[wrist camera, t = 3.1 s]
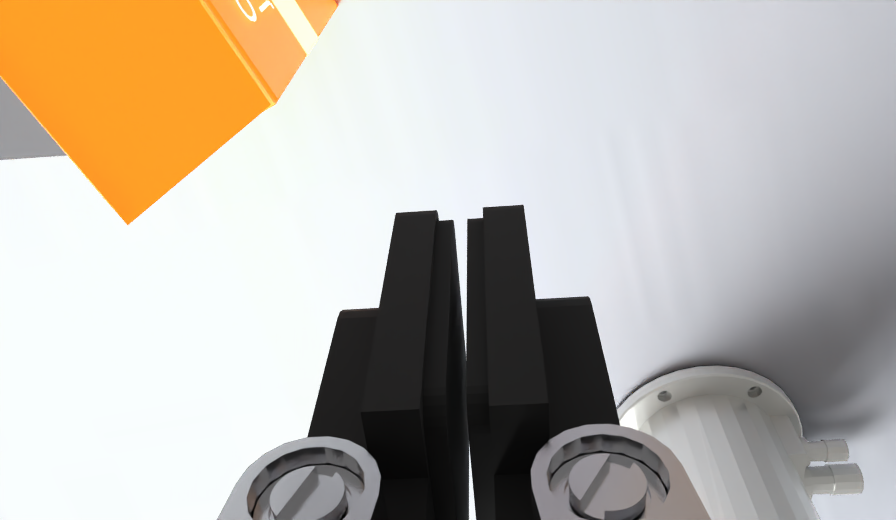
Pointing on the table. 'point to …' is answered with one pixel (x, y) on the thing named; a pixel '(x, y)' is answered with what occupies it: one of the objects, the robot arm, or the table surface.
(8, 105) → the mat
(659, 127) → the table surface
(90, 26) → the orange juice
